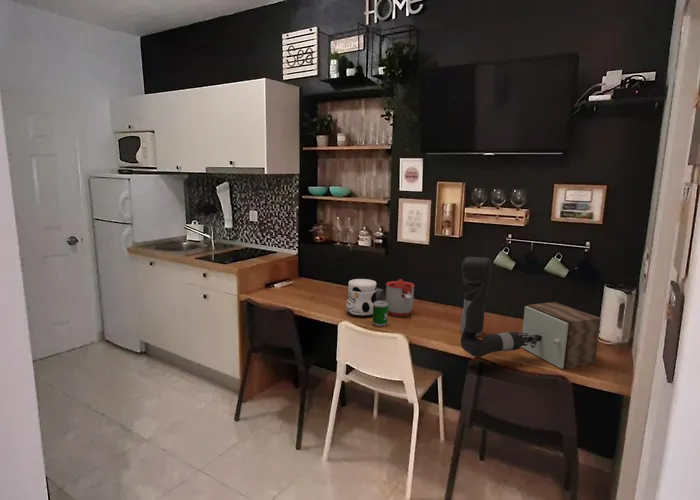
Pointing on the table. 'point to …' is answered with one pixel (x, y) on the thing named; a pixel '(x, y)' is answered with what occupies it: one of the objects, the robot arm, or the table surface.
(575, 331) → the walnut cabinet
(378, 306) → the soda can
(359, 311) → the milk container
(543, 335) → the sage door
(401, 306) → the citrus juicer
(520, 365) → the table surface
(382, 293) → the bluetooth speaker
